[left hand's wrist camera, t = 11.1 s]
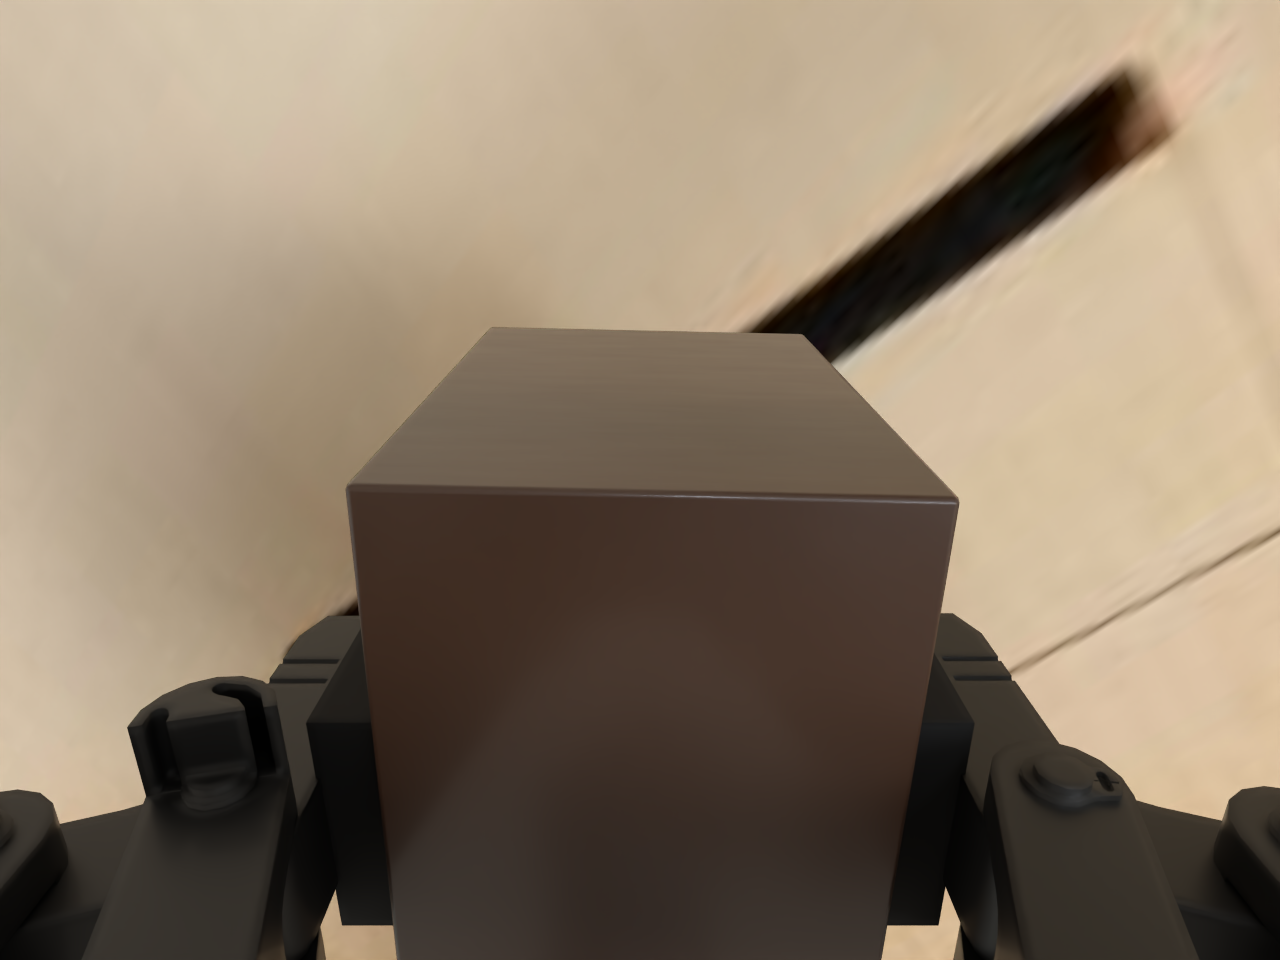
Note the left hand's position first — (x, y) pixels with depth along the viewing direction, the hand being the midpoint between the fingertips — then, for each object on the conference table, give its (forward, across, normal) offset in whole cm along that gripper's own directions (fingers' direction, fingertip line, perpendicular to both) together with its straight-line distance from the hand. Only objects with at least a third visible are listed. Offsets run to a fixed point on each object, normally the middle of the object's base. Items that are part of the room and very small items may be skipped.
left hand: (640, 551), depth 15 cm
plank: (0, 0, -12) cm, 12 cm away
